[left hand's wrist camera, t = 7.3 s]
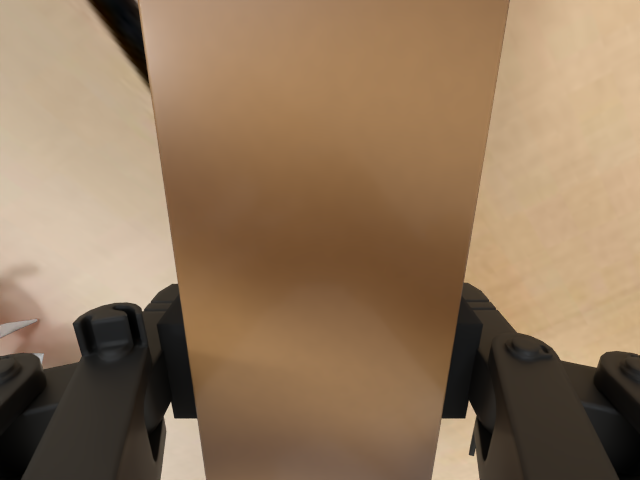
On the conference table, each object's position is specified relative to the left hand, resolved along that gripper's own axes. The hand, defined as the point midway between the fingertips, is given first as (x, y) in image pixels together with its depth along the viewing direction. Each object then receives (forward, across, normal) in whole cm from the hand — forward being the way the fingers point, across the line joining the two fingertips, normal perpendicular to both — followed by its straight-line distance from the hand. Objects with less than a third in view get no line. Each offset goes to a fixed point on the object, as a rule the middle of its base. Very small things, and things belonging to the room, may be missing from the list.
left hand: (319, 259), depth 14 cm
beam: (+1, 0, -33) cm, 33 cm away
